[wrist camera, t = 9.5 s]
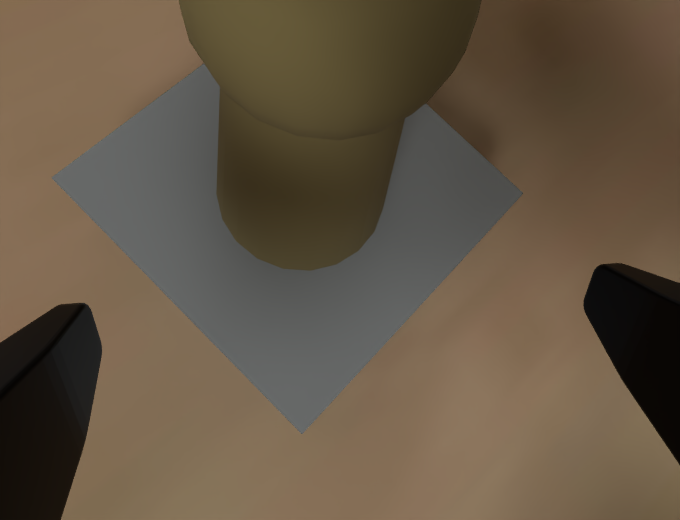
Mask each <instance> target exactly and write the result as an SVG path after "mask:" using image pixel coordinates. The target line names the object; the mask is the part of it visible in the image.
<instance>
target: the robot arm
mask: <svg viewBox="0 0 680 520" xmlns="http://www.w3.org/2000/svg"><path fill="white" fill-rule="evenodd" d="M583 305H584V310H585V313H586V315H587V317H588V319H589V321H590V323H591V325H592V326H593V328H594V330H595V332H596V334H597V335H598V337H599V339H600V341H601V343H602V345H603V346H604V348H605V350H606V352H607V354H608V356H609V357H610V359H611V361H612V363H613V365H614V367H615V368H616V370H617V372H618V374H619V375H620V377H621V379H622V380H623V382H624V384H625V385H626V387H627V388H628V390H629V391H630V393H631V394H632V396H633V397H634V399H635V400H636V402H637V403H638V404H639V406H640V407H641V409H642V410H643V412H644V413H645V415H646V416H647V418H648V419H649V421H650V422H651V424H652V425H653V426H654V428H655V429H656V431H657V432H658V434H659V435H660V437H661V438H662V440H663V441H664V443H665V444H666V446H667V447H668V448H669V450H670V451H671V453H672V454H673V456H674V457H675V459H676V460H677V462H678V463H679V465H680V283H678V282H675V281H672V280H669V279H666V278H663V277H660V276H657V275H655V274H652V273H649V272H646V271H643V270H640V269H637V268H634V267H631V266H628V265H625V264H622V263H612V264H601V265H599V266H597V267H596V269H595V270H594V272H593V275H592V278H591V281H590V283H589V286H588V289H587V292H586V295H585V298H584V304H583ZM101 356H102V345H101V340H100V337H99V334H98V331H97V327H96V324H95V321H94V318H93V315H92V311H91V309H90V308H89V306H88V305H87V304H85V303H72V304H61V305H58V306H56V307H54V308H53V309H51V310H50V311H48V312H47V313H45V314H44V315H42V316H40V317H39V318H37V319H36V320H34V321H33V322H31V323H30V324H28V325H27V326H25V327H24V328H22V329H20V330H19V331H17V332H16V333H14V334H13V335H11V336H10V337H8V338H7V339H5V340H4V341H2V342H1V343H0V520H61V517H62V514H63V511H64V508H65V505H66V501H67V498H68V495H69V492H70V489H71V486H72V483H73V479H74V476H75V473H76V470H77V467H78V464H79V460H80V457H81V454H82V451H83V447H84V444H85V440H86V435H87V431H88V426H89V421H90V416H91V410H92V405H93V399H94V394H95V389H96V383H97V378H98V373H99V367H100V362H101Z"/></svg>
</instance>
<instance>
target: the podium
mask: <svg viewBox="0 0 680 520" xmlns="http://www.w3.org/2000/svg"><path fill="white" fill-rule="evenodd" d="M219 98H220V86H219V85H218V83H217V82H216V80H215V79H214V78H213V76H212V75H211V73H210V72H209V70H208V68H207V67H206V65H205V64H203V65H201V66H200V67H199V68H197V69H196V70H195V71H193V72H192V73H191V74H189V75H188V76H187V77H185V78H184V79H183V80H181V81H180V82H179V83H177V84H176V85H175V86H173V87H172V88H171V89H169V90H168V91H167V92H165V93H164V94H163V95H161V96H160V97H159V98H157V99H156V100H155V101H153V102H152V103H151V104H149V105H148V106H147V107H145V108H144V109H143V110H141V111H140V112H139V113H137V114H136V115H135V116H133V117H132V118H131V119H129V120H128V121H127V122H125V123H124V124H123V125H121V126H120V127H119V128H117V129H116V130H115V131H113V132H112V133H111V134H109V135H108V136H107V137H105V138H104V139H102V140H101V141H100V142H98V143H97V144H96V145H94V146H93V147H92V148H90V149H89V150H88V151H86V152H85V153H84V154H82V155H81V156H80V157H78V158H77V159H76V160H74V161H73V162H72V163H70V164H69V165H68V166H66V167H65V168H64V169H62V170H61V171H60V172H58V173H57V174H56V175H54V176H53V177H52V179H53V180H54V181H55V182H56V183H57V184H58V185H59V186H60V187H61V188H62V189H63V190H64V191H65V192H66V193H67V194H68V195H69V196H70V197H71V198H72V199H73V200H74V201H75V202H76V203H77V204H78V205H79V206H80V208H81V209H82V210H83V211H84V212H85V213H86V214H87V215H88V216H89V217H90V218H91V219H92V220H93V221H94V222H95V223H96V224H97V225H98V226H99V227H100V228H101V229H102V230H103V231H104V232H105V233H106V234H107V235H108V236H109V237H110V238H111V239H112V240H113V241H114V242H115V243H116V244H117V245H118V246H119V247H120V248H121V249H122V251H123V252H124V253H125V254H126V255H127V256H128V257H129V258H130V259H131V260H132V261H133V262H134V263H135V264H136V265H137V266H138V267H139V268H140V269H141V270H142V271H143V272H144V273H145V274H146V275H147V276H148V277H149V278H150V279H151V280H152V281H153V282H154V283H155V284H156V285H157V286H158V287H159V288H160V289H161V290H162V291H163V292H164V293H165V295H166V296H167V297H168V298H169V299H170V300H171V301H172V302H173V303H174V304H175V305H176V306H177V307H178V308H179V309H180V310H181V311H182V312H183V313H184V314H185V315H186V316H187V317H188V318H189V319H190V320H191V321H192V322H193V323H194V324H195V325H196V326H197V327H198V328H199V329H200V330H201V331H202V332H203V333H204V334H205V335H206V336H207V337H208V339H209V340H210V341H211V342H212V343H213V344H214V345H215V346H216V347H217V348H218V349H219V350H220V351H221V352H222V353H223V354H224V355H225V356H226V357H227V358H228V359H229V360H230V361H231V362H232V363H233V364H234V365H235V366H236V367H237V368H238V369H239V370H240V371H241V372H242V373H243V374H244V375H245V376H246V377H247V378H248V379H249V380H250V382H251V383H252V384H253V385H254V386H255V387H256V388H257V389H258V390H259V391H260V392H261V393H262V394H263V395H264V396H265V397H266V398H267V399H268V400H269V401H270V402H271V403H272V404H273V405H274V406H275V407H276V408H277V409H278V410H279V411H280V412H281V413H282V414H283V415H284V416H285V417H286V418H287V419H288V420H289V421H290V422H291V423H292V424H293V426H294V427H295V428H296V429H297V430H298V431H299V432H300V433H301V434H303V433H304V431H305V430H306V429H307V428H308V427H309V426H310V425H311V424H312V423H313V422H314V421H315V419H316V418H317V417H318V416H319V415H320V414H321V413H322V412H323V411H324V410H325V409H326V408H327V406H328V405H329V404H330V403H331V402H332V401H333V400H334V399H335V398H336V397H337V396H338V394H339V393H340V392H341V391H342V390H343V389H344V388H345V387H346V386H347V385H348V384H349V382H350V381H351V380H352V379H353V378H354V377H355V376H356V375H357V374H358V373H359V372H360V371H361V369H362V368H363V367H364V366H365V365H366V364H367V363H368V362H369V361H370V360H371V359H372V357H373V356H374V355H375V354H376V353H377V352H378V351H379V350H380V349H381V348H382V347H383V345H384V344H385V343H386V342H387V341H388V340H389V339H390V338H391V337H392V336H393V335H394V334H395V332H396V331H397V330H398V329H399V328H400V327H401V326H402V325H403V324H404V323H405V322H406V320H407V319H408V318H409V317H410V316H411V315H412V314H413V313H414V312H415V311H416V310H417V308H418V307H419V306H420V305H421V304H422V303H423V302H424V301H425V300H426V299H427V298H428V297H429V295H430V294H431V293H432V292H433V291H434V290H435V289H436V288H437V287H438V286H439V285H440V283H441V282H442V281H443V280H444V279H445V278H446V277H447V276H448V275H449V274H450V273H451V271H452V270H453V269H454V268H455V267H456V266H457V265H458V264H459V263H460V262H461V261H462V260H463V258H464V257H465V256H466V255H467V254H468V253H469V252H470V251H471V250H472V249H473V248H474V246H475V245H476V244H477V243H478V242H479V241H480V240H481V239H482V238H483V237H484V236H485V234H486V233H487V232H488V231H489V230H490V229H491V228H492V227H493V226H494V225H495V224H496V223H497V221H498V220H499V219H500V218H501V217H502V216H503V215H504V214H505V213H506V212H507V211H508V209H509V208H510V207H511V206H512V205H513V204H514V203H515V202H516V201H517V200H518V199H519V197H520V196H521V195H522V194H523V193H522V192H521V191H520V190H519V189H518V188H517V187H516V186H515V185H514V184H513V183H512V182H510V181H509V180H508V179H507V178H506V177H505V176H504V175H503V174H502V173H501V172H500V171H499V170H497V169H496V168H495V167H494V166H493V165H492V164H491V163H490V162H489V161H488V160H487V159H486V158H484V157H483V156H482V155H481V154H480V153H479V152H478V151H477V150H476V149H475V148H474V147H473V146H471V145H470V144H469V143H468V142H467V141H466V140H465V139H464V138H463V137H462V136H461V135H459V134H458V133H457V132H456V131H455V130H454V129H453V128H452V127H451V126H450V125H449V124H448V123H446V122H445V121H444V120H443V119H442V118H441V117H440V116H439V115H438V114H437V113H436V112H435V111H433V110H432V109H431V108H430V107H429V106H428V105H427V104H426V103H425V104H424V105H423V106H422V107H420V108H419V109H418V110H417V111H415V112H414V113H413V114H412V115H410V116H408V117H406V118H405V121H404V125H403V129H402V133H401V137H400V141H399V145H398V149H397V154H396V158H395V162H394V166H393V170H392V174H391V178H390V182H389V186H388V190H387V194H386V198H385V202H384V207H383V210H382V213H381V215H380V218H379V221H378V223H377V226H376V229H375V231H374V233H373V234H372V235H371V236H370V238H369V239H368V240H367V241H366V242H365V244H364V245H363V246H362V247H361V248H360V250H359V251H357V252H356V253H354V254H353V255H351V256H349V257H348V258H346V259H344V260H343V261H341V262H340V263H338V264H336V265H332V266H328V267H324V268H320V269H315V270H311V271H307V270H293V269H282V268H280V267H277V266H275V265H272V264H270V263H267V262H265V261H262V260H260V259H257V258H256V257H255V256H254V255H252V254H251V253H250V252H249V251H247V250H246V249H245V248H244V247H243V246H241V245H240V244H239V243H238V242H236V240H235V239H234V237H233V235H232V234H231V232H230V231H229V229H228V227H227V226H226V224H225V223H224V221H223V220H222V216H221V212H220V207H219V203H218V199H217V195H216V191H217V160H218V129H219Z"/></svg>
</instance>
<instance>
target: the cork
mask: <svg viewBox="0 0 680 520" xmlns="http://www.w3.org/2000/svg"><path fill="white" fill-rule="evenodd" d="M179 4H180V8H181V12H182V16H183V20H184V23H185V27H186V31H187V34H188V38H189V41H190V43H191V44H192V46H193V47H194V49H195V50H196V52H197V53H198V55H199V56H200V58H201V59H202V61H203V62H204V64H205V65H206V67H207V68H208V70H209V72H210V73H211V75H212V76H213V78H214V79H215V80H216V82H217V83H218V85H219V86H220V98H219V129H218V160H217V191H216V195H217V199H218V203H219V207H220V212H221V216H222V220H223V221H224V223H225V224H226V226H227V227H228V229H229V231H230V232H231V234H232V235H233V237H234V239H235V240H236V242H238V243H239V244H240V245H241V246H243V247H244V248H245V249H246V250H247V251H249V252H250V253H251V254H252V255H254V256H255V257H256V258H257V259H260V260H262V261H265V262H267V263H270V264H272V265H275V266H277V267H280V268H282V269H293V270H307V271H311V270H315V269H320V268H324V267H328V266H332V265H336V264H338V263H340V262H341V261H343V260H344V259H346V258H348V257H349V256H351V255H353V254H354V253H356V252H357V251H359V250H360V248H361V247H362V246H363V245H364V244H365V242H366V241H367V240H368V239H369V238H370V236H371V235H372V234H373V233H374V231H375V229H376V226H377V223H378V221H379V218H380V215H381V213H382V210H383V207H384V202H385V198H386V194H387V190H388V186H389V182H390V178H391V174H392V170H393V166H394V162H395V158H396V154H397V149H398V145H399V141H400V137H401V133H402V129H403V125H404V121H405V118H406V117H408V116H410V115H412V114H413V113H414V112H415V111H417V110H418V109H419V108H420V107H422V106H423V105H424V104H425V103H427V102H428V100H429V99H430V98H431V97H432V96H433V95H434V93H435V92H436V91H437V90H438V89H439V88H440V87H441V85H442V84H443V83H444V82H445V81H446V80H447V79H448V77H449V76H450V75H451V74H452V73H453V71H454V69H455V68H456V66H457V64H458V63H459V61H460V59H461V58H462V56H463V55H464V53H465V51H466V48H467V45H468V42H469V39H470V36H471V34H472V31H473V28H474V25H475V22H476V19H477V17H478V13H479V8H480V4H481V0H179Z"/></svg>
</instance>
